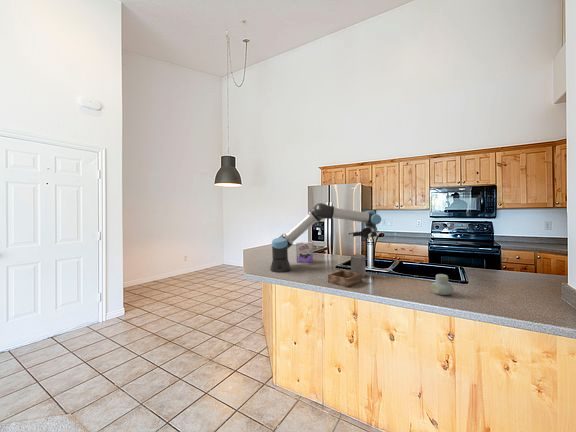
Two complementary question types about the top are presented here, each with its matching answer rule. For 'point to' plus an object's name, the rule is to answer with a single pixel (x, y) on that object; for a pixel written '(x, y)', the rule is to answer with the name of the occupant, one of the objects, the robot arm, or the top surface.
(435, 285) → the air freshener
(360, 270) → the pillar candle
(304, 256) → the candy box
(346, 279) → the walnut crate
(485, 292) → the top surface
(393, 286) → the top surface
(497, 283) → the top surface
